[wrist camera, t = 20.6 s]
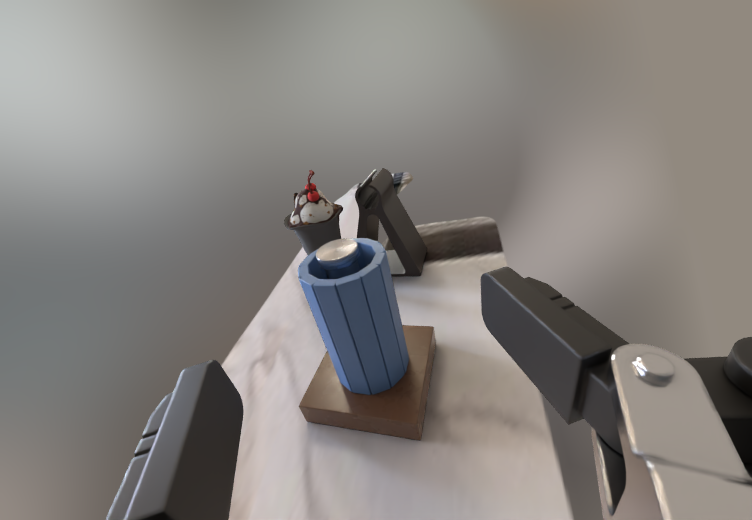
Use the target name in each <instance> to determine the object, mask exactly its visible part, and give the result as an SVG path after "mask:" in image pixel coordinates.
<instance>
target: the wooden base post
mask: <svg viewBox="0 0 752 520" xmlns="http://www.w3.org/2000/svg"><path fill="white" fill-rule="evenodd" d="M359 257H360V251H359V247H358V244H357V242H356V241H355V240H352V239H338V240H334V241H331V242H328V243H326V244H324V245H323V246H321V247H320V248H319V249H318V250H317V251H316V259H317V262H318V265H319V267H320V268H321V269H323V270H325V271H326V274H327V276H328V279H339V278H342V277H346V276H349V275H352V274H355V273H357V272H359V271H360V268H359V265H358V261H357V260H358V259H359ZM402 327H403V332H404V337H405V341H406V346H407V350H408V355H409V361H408V366H407V370H406V373H404V374H405V375H404V376H403V377H402V378H401V379H400V380H399V381H398V382H397V383H396V384H395V385H394V386H393V387H391V386H390V387H391V389H388V390H385V391H382V392H380V393H377V394H374V395H372V393H371V395H366V394H359V393H353V392H351V391H350V390H348V389H347V388H346V387H345V386H344V385H343V384H342V383H341V382H340V380H339V378H338V376H337V373H336V371H335V368H334V366H333V363H332V361H331V358H330V356H329V353H328V351H327V352H326V354H325V356H324V358H323V360H322V362H321V364H320V366H319V368H318V370H317V371H316V373H315V375H314V377H313V379H312V381H311V383H310V385H309V387H308V389H307V391H306V393H305V395H304V397H303V399H302V401H301V403H300V405H299V408H300V409H301V411H302V413H303V415H304V417H305V419H306V421H308V422H313V423H319V424H325V425H331V426H337V427H343V428H349V429H355V430H361V431H367V432H373V433H379V434H385V435H391V436H397V437H403V438H408V439H414V440H421V436H422V429H423V423H424V416H425V410H426V403H427V397H428V390H429V384H430V377H431V371H432V364H433V358H434V351H435V345H436V340H435V334H434V327H430V326H407V325H402Z"/></svg>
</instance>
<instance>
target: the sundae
mask: <svg viewBox="0 0 752 520" xmlns="http://www.w3.org/2000/svg"><path fill="white" fill-rule="evenodd" d="M309 172H310V174H309V176H310V175H311V177H312V176H313V175H314V172H313V171H312V170H310V171H309ZM309 176H308V184H307V185H306V187H305V189H304V190H302V191H301V192H300V193H295V194H294V205H295V209H294V211H293V213H292V214H290V215H288V216H287V217H286V218H285V220H284V225H285V227H286V228H287V229H290V230H294V232H295V233H296V235H297V237H298V238H299V240H300V242H301V244H302V246H303V248H304V250H305V252H306V253H307V255H310V254H311V253H312V252H314V251H316V250H318V249H319V248H320V247H321V246H323V245H324V244H326V243H328V242H331V241H334V240H338V239H341V234H340V228H339V215H340V213H341V212H342V210H343V207H342V206H341V205H337V204H334V203H330V202H329V201H328V200H327V199H326V198H325V196H324V195H323V193H322V192H321V191H319V190H317V189H316V185H315V184H313V183H310V179H311V177H310V178H309Z"/></svg>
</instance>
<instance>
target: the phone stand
mask: <svg viewBox="0 0 752 520" xmlns="http://www.w3.org/2000/svg"><path fill="white" fill-rule="evenodd" d="M375 172H376V169H375V170H374V171H373V172H372V173H371V174H370V175H369V177H368V178H367V179H366V180H365V181H364V182H363V183H362V184H361V186H360V187H359V188H358V189H357V191H356V194H355V198H356V202H357V204H358V207H359V223H358V232H357V238H368V239H371V240H374V241H378V227H379V219H380V221H381V223H382V225H383V227H384V229H385V231H386V233H387V235H388V237H389V239H390V241H391V243H392V245H393V247H394V249H395V250H385V251H386V254H387V258H388V263H389V267H390V272H391V276H420V275H421V271H422V267H423V263H424V259H425V255H426V251H427V247H426V246H425V244H424V242H423V240H422V239H421V237H420V235H419V233H418V232H417V230H416V228H415V226H414V225H413V223H412V221H411V219H410V217H409V216H408V214H407V212H406V210H405V209H404V207H403V205H402V203H401V202H400V200H399V198H398V196H397V195H396V193H395V190H394V186H393V177H392V175H391V173H390V172H389V171H388V170H386V169H384V168H383V169H382V170H381V171H380V172H379V174H378V175H377V176H376V177H375V179H374V180H373V181H372V177H373V175H374V174H375Z"/></svg>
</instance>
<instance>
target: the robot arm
mask: <svg viewBox="0 0 752 520" xmlns="http://www.w3.org/2000/svg"><path fill="white" fill-rule="evenodd" d="M481 303H482V316H483V320H484V322H485V325H486V327H487V328H488V330H489V331H490V333H491V334H492V335H493V336H494V337H495V339H496V340H497V341H498V342H499V343H500V344H501V346H502V347H503V348H504V349H505V350H506V352H507V353H508V354H509V355H510V356H511V357H512V359H513V360H514V361H515V362H516V363H517V365H518V366H519V367H520V368H521V369H522V370H523V372H524V373H525V374H526V375H527V376H528V377H529V379H530V380H531V381H532V382H533V383H534V385H535V386H536V387H537V388H538V389H539V390H540V392H541V393H542V394H543V395H544V396H545V398H546V399H547V400H548V401H549V402H550V403H551V405H552V406H553V407H554V408H555V409H556V410H557V412H558V413H559V414H560V415H561V416H562V418H563V419H564V420H565V421H566V422H567V423H568V424H571V423H574V422H576V421H579V420H581V419H585V420H586V421H587V422H588V423H589V424H590V425H591V427H592V442H593V448H594V456H595V463H596V470H597V477H598V484H599V491H600V498H601V505H602V512H603V520H752V337H748V338H743V339H741V340H738V341H737V342H736V343H735V344H734V346H733V348H732V350H731V352H730V354H729V355H728V357H711V358H689V359H683V358H681V357H680V356H678V355H676V354H674V353H672V352H670V351H668V350H665V349H663V348H660V347H656V346H652V345H647V344H629V343H628V342H626V341H625V340H623V339H622V338H621V337H619V336H618V335H617V334H615V333H614V332H612V331H611V330H610V329H608V328H607V327H606V326H604V325H603V324H601V323H600V322H599V321H597V320H596V319H595V318H593V317H592V316H591V315H589V314H588V313H586V312H585V311H584V310H582V309H581V308H579V307H578V306H575V305H574V303H573V302H571V301H570V300H569V299H567V298H566V297H562V295H561V294H560V293H559V292H558V291H556V290H555V289H554V288H552V287H551V286H549V285H548V284H546V283H543V282H541V281H538V280H535V279H533V278H530V277H528V278H525V279H524V278H523V277H521V276H520V275H519V274H517V273H516V272H515V271H513V270H512V269H511V268H509V267H503V268H500V269H497V270H494V271H491V272H488V273H485V274H483V275H482V276H481ZM242 421H243V404H242V399H241V396H240V394H239V392H238V391H237V389H236V388H235V386H234V385H233V383H232V382H231V380H230V379H229V377H228V376H227V374H226V373H225V371H224V370H223V368H222V367H221V365H220V364H219V363H218V362H217V361H216V360H210V361H207V362H204V363H201V364H198V365H195V366H192V367H189V368H186V369H184V370H183V371H182V372H181V374H180V376H179V379H178V382H177V384H176V387H175V389H174V392H173V393H171V394H168V395H166V396H165V398H164V399H163V400H162V401H161V403H160V404H159V405H158V407H157V408H156V409H155V410H154V412H153V413H152V414H151V416H150V419H149V421H148V423H147V425H146V428H145V430H144V432H143V435H142V437H143V439H142V440H140V442H139V444H138V446H137V449H136V451H135V453H134V454H135V458H132V460H131V462H130V465H129V467H128V470H127V472H126V474H125V476H124V479H123V481H122V483H121V486H120V488H119V490H118V493H117V495H116V497H115V499H114V502H113V504H112V507H111V509H110V511H109V513H108V516H107V518H106V520H228V518H229V511H230V504H231V497H232V490H233V483H234V476H235V469H236V462H237V456H238V449H239V442H240V435H241V428H242Z"/></svg>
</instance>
